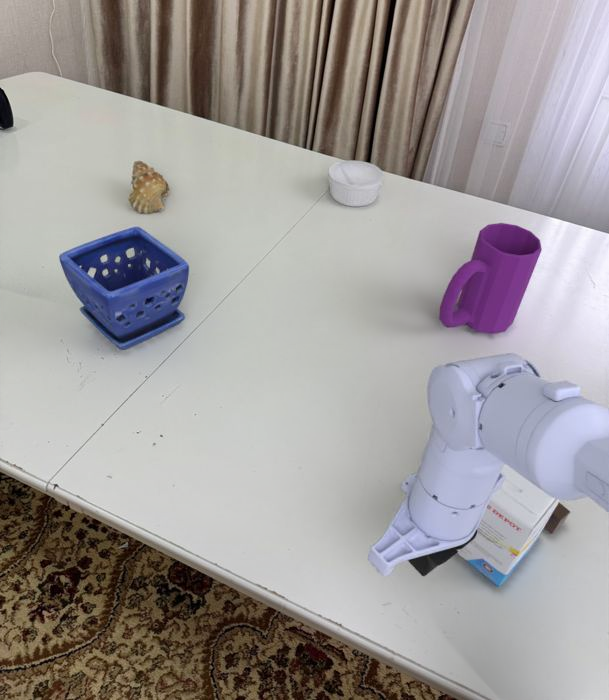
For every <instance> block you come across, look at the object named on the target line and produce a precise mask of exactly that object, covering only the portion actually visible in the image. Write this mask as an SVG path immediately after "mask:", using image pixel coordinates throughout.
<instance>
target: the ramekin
mask: <svg viewBox="0 0 609 700" xmlns="http://www.w3.org/2000/svg"><path fill="white" fill-rule="evenodd" d="M327 178H328V185H329V193H330V196H331V197H332V199H333V200H334V201H336V202H337V203H339V204H341V205H344V206H346V207H347V206H348V207H355V208H357V207H365V206H366V207H367V206H369V205H371V204H372V203H373V202H375V201H376V200H377V198H378V195H379V193H380V191H381V187H382V185H383V183H384V181H385V173H384V172H383V171H382V169H381V168H380V167H379V166H377V165H375V164H373V163H370V162H367V161H362V160H354V159H353V160H352V159H351V160H341V161H338V162H335V163H333V164H332V165H330V166H329V168H328V170H327Z"/></svg>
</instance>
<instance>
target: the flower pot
mask: <svg viewBox="0 0 609 700" xmlns="http://www.w3.org/2000/svg"><path fill="white" fill-rule="evenodd" d="M131 249H133V251H134V255H133V256H129V257H128V254H127V251H129V250H131ZM105 255H106V258H107V259H106V260H105V261H103V262H102V260H101V258H102V257H104V256H105ZM117 258H119V261H116V259H117ZM58 259H59V263H60V266H61V268H62V271H63V274H64V276H65V279H66V280H67V283H68V284H69V286H70V288H71V289H72V291H73V293H74V295H75V296H76V297H77V298H78V300H79V301H80V302H81V304H82V306H81V307H80V308H79V311H80V313H81V314H82V315H83V316H84V317H85V318H86V319H87V321H89V322H90V323H91V324H92V325H93V326H95V328H96V329H97V330H98V331H99V332H100V333H101V334H102V335H103V336H104V337H105V338H106V339H107V340H109V341H110V343H112V344H113V345H114V346H115V347H116V348H118V349H119V350H120V351H126V350H128V349H130V348H132V347H136V346H137V345H139V344H141V343H143V342H145V341H148V340H149V339H152V338H154V337H156V336H158V335H160V334H162V333H164V332H166V331H168V330H171V329H172V328H174V327H176V326H178V325H179V324H181V323H182V322H183V321H184V320H185V319H186V315H185V314H184V312H183V311H181V310H180V309H179V306H180V305H181V303H182V301H183V298H184V296H185V293H186V290H187V286H188V281H189V276H190V274H189V273H190V264H189V263H188V262H187V261H186V260H185V259H184V258H182V256H180V255H179V254H177V252H175V251H174V250H173V249H171V248H170V247H169V246H167V245H166V244H164V243H163V242H161V241H160V240H159V239H157V238H156V237H154V236H153V235H152V234H150V233H149V232H147V231H146V230H145V229H143V228H141V227H140V226H132V227H128V228H126V229H123V230H120V231H117V232H116V231H115V232H114V233H110V234H108V235H106V236H102V237H100V238H97V239H94V240H91V241H88V242H85V243H83V244H80V245H77V246H75V247H72V248H70V249H68V250H65V251H64V252H62V253H60V254H59V256H58ZM147 260H148V261H149V265H148V264H147ZM129 265H130V266H129ZM90 269H95V271H94V275H93V277H92V276H91V275H90V274H89V271H90ZM157 269H158V271H159V272H157ZM106 270H107V274H106V275H104V271H106ZM116 270H117V271H116Z"/></svg>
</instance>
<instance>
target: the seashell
mask: <svg viewBox="0 0 609 700" xmlns="http://www.w3.org/2000/svg"><path fill="white" fill-rule="evenodd" d="M132 169H133V170H132V175H131V182H130V183H131V185H132V189H133V190H132V191H131V193H130V194H129V195H128V197H127V198H128V201H129V203H130V206H131V207H132V208H133V210H134V211H136V212H137V213H139V214H143V215H147V214H149V215H150V214H154V213H157V212H158V211H159V212H162V211H164V210H165V206H164V204H163V202H162V199H164V198H167V197H168V195H170V189H171V188H170V186H169V184H168V182H167V180H165V178H164V176H163V175H162V174H161V173H160V172H158V171H155V168H154V167H151V166H149V165H148V164H147V163H145V162H143V161H142V160H137V161H134V162H133V166H132Z"/></svg>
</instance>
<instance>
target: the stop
mask: <svg viewBox="0 0 609 700" xmlns="http://www.w3.org/2000/svg"><path fill="white" fill-rule="evenodd" d="M570 514H571V510H569V509H568V508H567V507H566V506H565V505H563V504H562V503H561V502H560V501H559V503H558V505H557V506H556V508H555V510H554V511H553V513H552V515H551V516H550V518H549V520H548V521H547V523H546V525H545V527H544V528H543V529H545V530H546V531H547V532H549V533H550V534H551V535H553V534H554V533H555V532H557V531H558V530H559V529H560V528H561V527H562V526H563V524H564V523H565V521H566V519H567V518H568V517H569V515H570Z"/></svg>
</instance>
